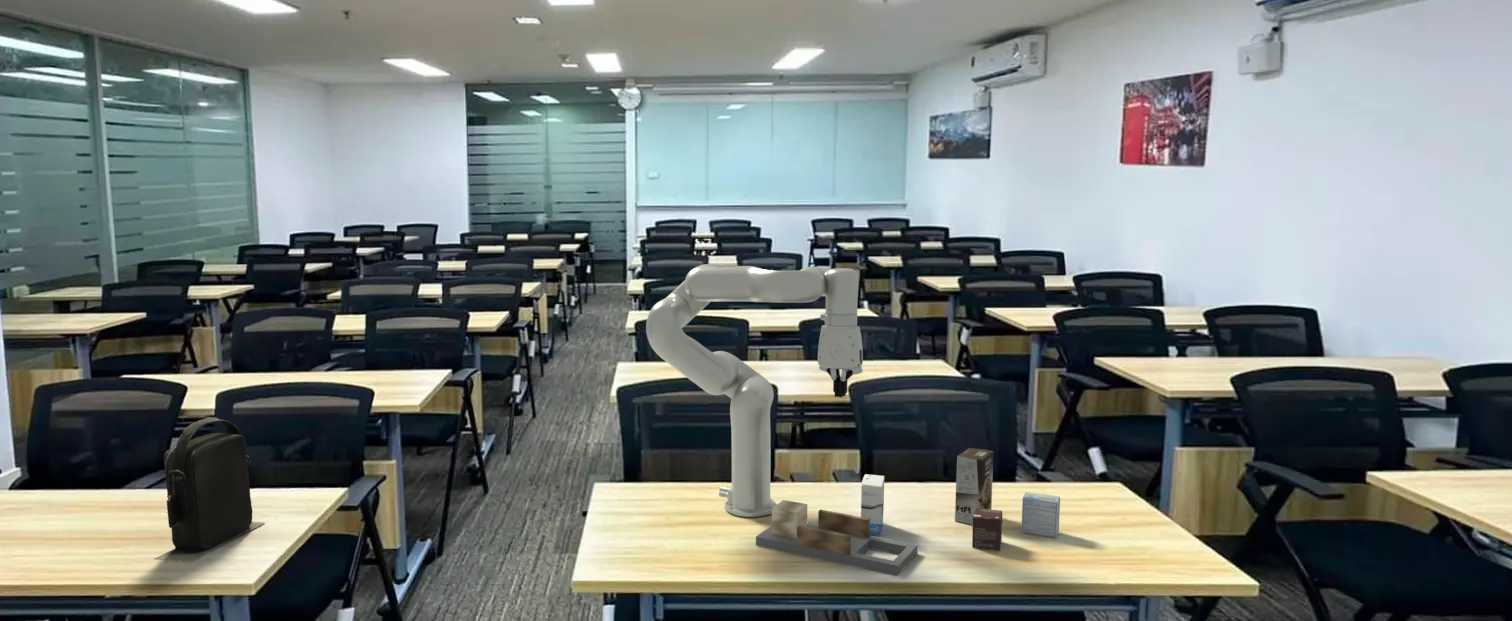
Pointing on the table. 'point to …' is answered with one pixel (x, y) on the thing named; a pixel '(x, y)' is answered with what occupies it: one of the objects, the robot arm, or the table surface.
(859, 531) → the tunnel walls
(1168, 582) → the table surface
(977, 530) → the box
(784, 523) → the maple block
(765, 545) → the deck
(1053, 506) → the medicine box
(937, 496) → the table surface
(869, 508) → the ink box
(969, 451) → the coffee box
